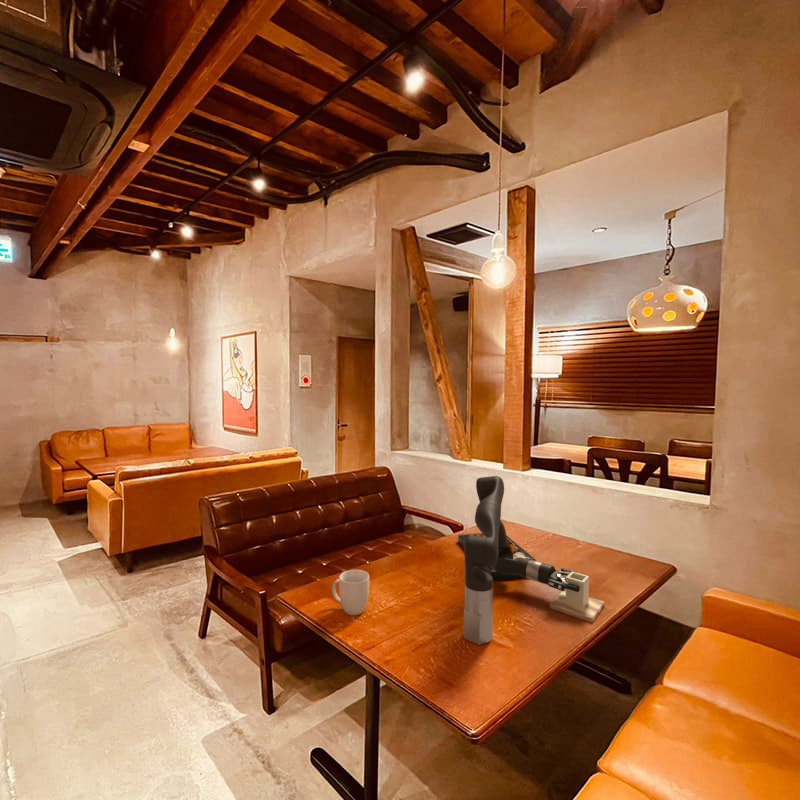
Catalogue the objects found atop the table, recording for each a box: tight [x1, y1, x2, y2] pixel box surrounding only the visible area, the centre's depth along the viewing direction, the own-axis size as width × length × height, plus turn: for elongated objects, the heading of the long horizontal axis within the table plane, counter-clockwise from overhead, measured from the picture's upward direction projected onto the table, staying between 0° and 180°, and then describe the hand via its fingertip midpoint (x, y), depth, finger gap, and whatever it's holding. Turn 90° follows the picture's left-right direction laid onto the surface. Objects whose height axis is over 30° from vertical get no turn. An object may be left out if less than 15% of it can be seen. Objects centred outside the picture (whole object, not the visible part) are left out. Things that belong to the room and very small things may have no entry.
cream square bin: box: [565, 571, 590, 609], centre depth 162 cm, size 6×6×10 cm
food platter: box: [457, 532, 538, 581], centre depth 208 cm, size 45×25×10 cm, turn 10°
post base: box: [549, 590, 605, 623], centre depth 162 cm, size 15×15×8 cm
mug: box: [331, 569, 370, 616], centre depth 160 cm, size 15×11×13 cm
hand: (582, 584), depth 161 cm, fingers open, 8 cm apart
